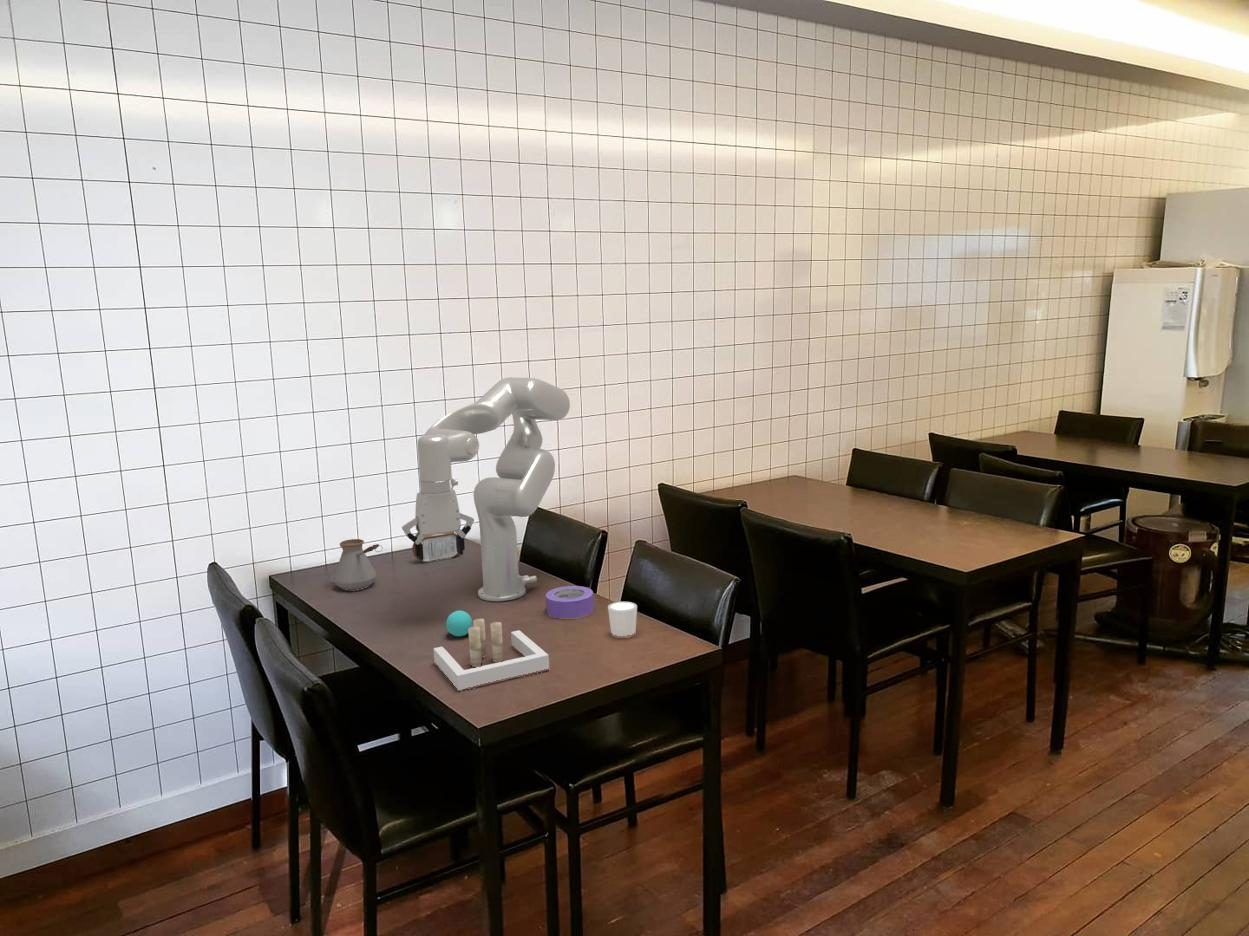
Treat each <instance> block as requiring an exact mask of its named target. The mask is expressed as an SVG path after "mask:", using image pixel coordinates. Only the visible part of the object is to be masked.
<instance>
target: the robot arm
mask: <svg viewBox="0 0 1249 936" xmlns="http://www.w3.org/2000/svg"><path fill="white" fill-rule="evenodd" d="M570 402H571V401H570V397H569V396H568V393H566V391H564V390H563V388H562V389H561V388H559V387H557V386H555V385H553V384H551V383H548V382H546V381H544V380H541V379H539V378H535V377H505V378H502V379H500V380H499V381H497V382H496V383H495V384H494V385H493V386H492V387H490V389H488V390H487V392H485V393H484V394H483V395H482V396H481V397H480V398H479V399H478V400H477V401H475V402H474V403H471V404H468V405H466V406H464V407H462V408H459V409H457V410H455V411H452V412H449V413H448V414H445V415H444V416H442V417H441V418H440V419H438V420H436V421H435V422H434V423H433V424H432V425H431V426H430V427H429V428H428V429H427V430H426V432H425V433H424V435H421V436H420V437H419V438H418V440H417V441H416V442H417V443H416V444H417V457H418V473H419V474H418V475H419V477H418V478H419V488H420V489H419V490H420V491H419V492H417V493H416V496H415V497H416V499H415V510H414V511H415V513H414V514H415V518H413V519H412V520H410V521H408V522H406V523H405V524H403V526H401V530H402V531H403V532H404V534H405V535H406V537H407V538H408V539H410V541H412V542H413V543H415V555H416V557H418V558H419V559H420V560H424V556H423V544H422V543H421V541H422V540H423V538H424V537H425V535H435V534H443V533H450V532H455V533H456V534H457V537H456V548H457V552H458V553H459V554H458V555H460V556H461V555H464V550H465V548H466V547H465V538H467V537H466V536H467V535H468V533H469V532H470V531H471V529H472V526H473V524H474V522H475V518H473V517H471V516H469V515H466V514H464V513H461V512H460V506H459V502H458V501H459V500H458V497H457V493H456V491H455V489H454V488H455V486H458V485H459V480H458V479H453V475H452V474H453V473H452V463H457V462H458V463H459V462H462V463H463V462H467V461H470V460H472V459H473V458H475V457H476V455H477V454H478V452H479V450H480V442H479V439H478V437H477V436H476V435H480V434H485V433H488V432H492V431H494V430H496V429H498V428H499V427H500V426H501V425H502V424H503V423H504V422H505V421H506V420H507V419H508V418H509V417H510V416H511V415H512V420H513V421H512V422H513V431H512V434H511V435H510V438H509V440H508V441H507V444H506V445H505V447H504V448H503V450H502V452H501V453H500V456H499V457H498V459H497V462H496V465H495V472H496V474H497V476H498V477H497V476H495V477H490V476H489V477H486V478H483V479H481V480H480V481H478V483H476V485H475V487H474V489H473V503H474V506H475V509H476V513H477V517H478V525H479V526H478V527H479V535H480V536H479V537H480V551H481V552H480V553H481V565H482V566H481V567H482V571H481V572H482V584H483V585H482V587H480V588H479V589H478V590H477V596H478V597H479V598H480V599H481V600H484V601H487V602H505V601H506V602H507V601H513V600H515V599H516V600H517V599H519V598H521V597H523V596H524V595H525V594H526V587H525V586H526V585H529V584H535V583H537V582H538V581H537V579H538V578H537V575H531V576H529V575H528V574H525V575H520V572H519V556H518V537H517V536H518V535H517V526H516V524H515V521H514V519H513V517H521V518H525V517H530V516H532V515H533V514H534V513H535V511H537V509H538V508H539V505H540V503H541V502H542V500H543V498H544V496H545V494H546V492H547V490H548V489H549V487H550V484H551V483H552V480H553V478H554V475H555V471H556V462H555V458H554V455H553V454H552V453H551V452H550V451H548V450H547V449H543V448H542V446H543V445H542V444H543V436H542V433H541V430H540V428H539V426H538V424H537V420H540V421H541V420H542V421H561V420H562V419H565V417H566V416H567V415H568V413H569V411H570V408H571V406H570V405H571V403H570ZM461 520H462V521H464V522H466V523H465V525H464V526H463V527H462V526H461V524H462V523H461ZM414 527H415V530H416V531H417V532H416V533H415V534H413V533H412V532H411V529H412V528H414ZM461 527H462V529H461ZM416 557H415V558H416ZM420 560H419V561H420Z"/></svg>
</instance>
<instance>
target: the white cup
mask: <svg viewBox="0 0 1249 936" xmlns="http://www.w3.org/2000/svg"><path fill="white" fill-rule="evenodd" d="M607 611H608V617H609V625H610V634H611V633H612V634H613V635H617V636H627V635H632V634H634V633H635V634H636V630H637V629H636V628H637V615H638V614H637V613H638V612H637V611H638V605H637V604H636V603H634V602H631V601H615V602H612V603H610V604H608V605H607Z"/></svg>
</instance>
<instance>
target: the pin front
mask: <svg viewBox="0 0 1249 936" xmlns="http://www.w3.org/2000/svg"><path fill="white" fill-rule="evenodd" d="M485 623H486V622H485V618H475V619H473V620H472V624H473V626H477V627H479V628H480V643H481V657H483V656H485V655H488V654H487V641H486V627H485V625H486V624H485Z"/></svg>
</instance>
